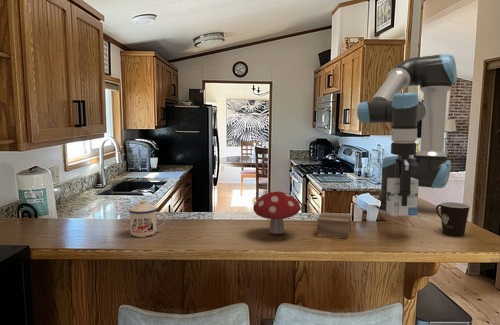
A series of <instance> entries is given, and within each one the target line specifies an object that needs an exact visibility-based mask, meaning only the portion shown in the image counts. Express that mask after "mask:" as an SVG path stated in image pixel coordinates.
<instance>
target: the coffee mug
mask: <svg viewBox="0 0 500 325" xmlns="http://www.w3.org/2000/svg"><path fill="white" fill-rule="evenodd" d="M439 207H440V211H439ZM469 211H470V205H468V204H466V203H461V202H452V201H451V202H450V201H443V202H440V203H439V204H437V205H436V208H435V212H436V214H437V215H438V218H440V219H441V231H442V234H443V235H445V236H448V237H452V236H453V237H454V238H461V237H464V236H465V232H466V227H467V222H468V217H469V213H470V212H469Z"/></svg>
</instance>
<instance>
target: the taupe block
mask: <svg viewBox="0 0 500 325" xmlns="http://www.w3.org/2000/svg"><path fill="white" fill-rule="evenodd" d="M316 222H317V223H316V224H317V225H316V227H317V228H316V236H317V235H322V236H331V237H338V238H337V239H341V238H348V237H349V238H350V235H351V234H350V233H351V232H352V229H351V228H352V214H350V213H348V214H347V213H337V212H326V211H324V212H323V211H322V212H321V213H320V214H319V216H318V218H317V219H316ZM331 237H330V238H331ZM349 238H348V239H349Z"/></svg>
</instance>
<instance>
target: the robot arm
mask: <svg viewBox="0 0 500 325" xmlns="http://www.w3.org/2000/svg"><path fill="white" fill-rule="evenodd" d="M457 75H458V70H457V64H456V60H455V58H454V55H453V54H448V53H447V54H444V53H443V54H441V53H440V54H434V55H428V56H427V55H426V56H425V55H424V56H417V57H410V58H407V59H404V60H403V61H401V62H399V63H398V64H395V65H394V66H393V67H392V68H391V69H390V70H389V71H388V73H387V74H386V78H385V79H386V80H385V81H384V82H383V84H381V86H380V87H379V89H378V90H377V91H376V93H375V94H374V95H373V97H372V98H371V99H370V100H369V101H363V102H362V101H361V102H360V103H358V106H357V111H356V116H357V119H358V121H359V122H360V123H364V124H365V123H366V124H367V123H368V124H371V123H372V124H373V123H375V124H376V123H378V124H379V123H384V124H385V123H390V124H391V131H389V135H391V139H390V140H391V141H392V142H391V144H390V154H392V156H391V155H390V156H386V157H384V158H383V159H382V160H381V167H380V168H381V179H380V180H381V181H380V182H381V185H380V186H381V189H380V192H379V195H378V197H377V199H378V200H380V201H381V206H380V208H379V209H380V210H384V211H386V205H387V178H400V194H398V196H399V216H398V217H401V216H402V217H403V216H404V217H409V216H408V202H409V195H410V194H411V192H410V187H411V178H414V179H417V180H418V188H419V187H421V188H422V187H423V188H431V189H442V188H445V187H446V186H447V184H448V182H449V178H450V176H451V170H452V160H449V159H448V155H447V154H446V153H445V152H444V151H445V150H444V148H445V147H444V146H445V145H444V144H445V133H446V131H445V130H446V116H447V115H446V114H447V100H448V99H447V98H448V92H450V90H452V87H453V85H454V84H456V83H457V78H458V76H457ZM413 86H419V90H420V91H421V92H422V93H423V97H422V98H423V100H419V94H418V93H417V92H402V91H403V90H405V89H406V88H408V87H413ZM420 121H421V130H420V131H421V132H420V134H421V136H420V150H419V152H417V141H418V123H419V122H420ZM413 155H415V158H412V156H413Z"/></svg>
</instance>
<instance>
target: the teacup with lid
mask: <svg viewBox="0 0 500 325" xmlns="http://www.w3.org/2000/svg"><path fill="white" fill-rule="evenodd" d="M157 210H158V208H157V206H156V205H155V204H154V205H153V204H151V203H148V202H147V201H146V200H145V199H141V200H139V203H137V204H135V205H134V206H131V207H130V208H129V210H128V212H129V224H130V229H129V230H130V234H131V233H133V234H139V235H141V234H142V235H143V234H151V233H154V232H156V231H157V232H158V228H159V227H162V226H164V225H165V223H166V220H167V217H166V214H165V212H162V211H157ZM157 215H162V216H163V221H162V222H161V223H159V224H157V223H158V222H157V218H158V217H157Z"/></svg>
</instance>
